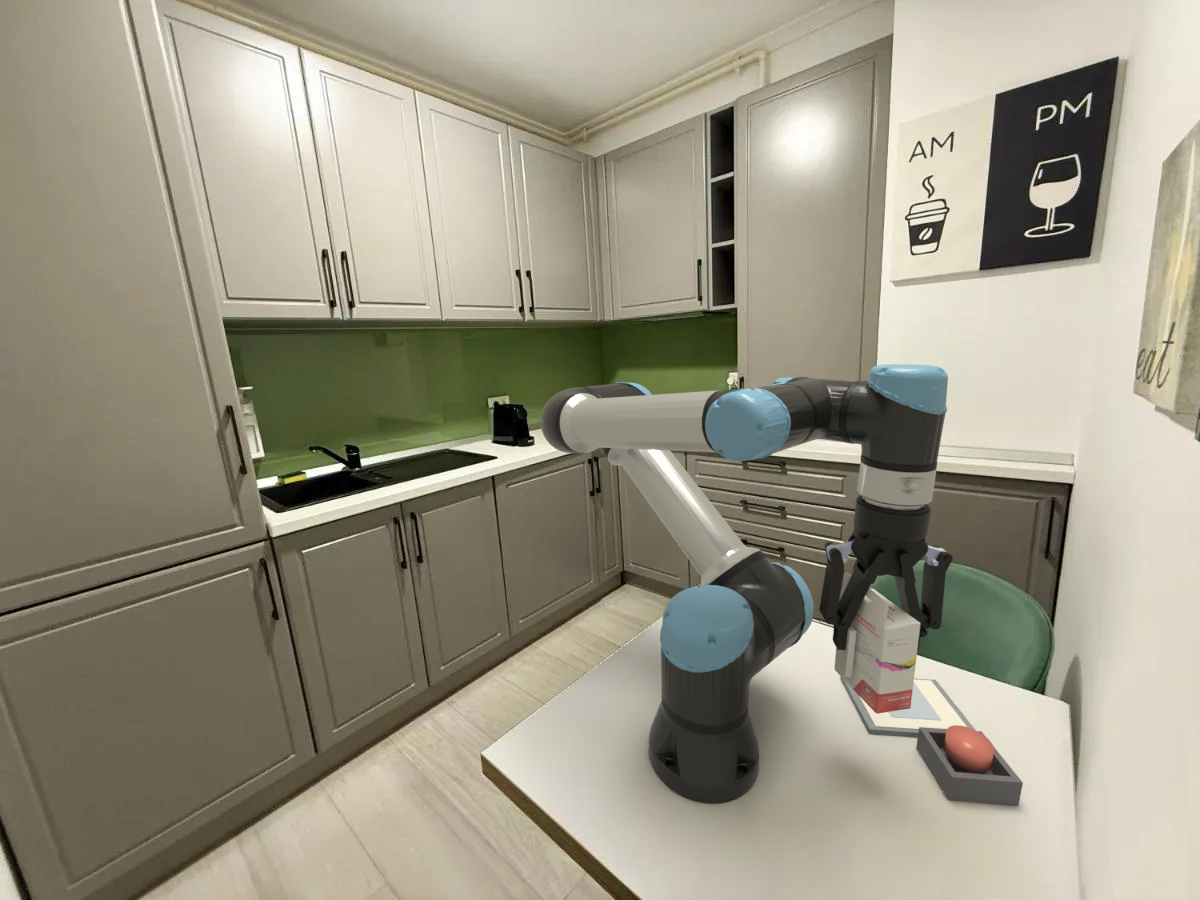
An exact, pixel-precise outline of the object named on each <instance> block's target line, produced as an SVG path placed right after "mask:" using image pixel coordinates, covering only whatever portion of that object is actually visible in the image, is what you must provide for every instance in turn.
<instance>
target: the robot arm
mask: <svg viewBox="0 0 1200 900" xmlns="http://www.w3.org/2000/svg"><path fill="white" fill-rule="evenodd" d="M948 381H949V375H948V373H947V371H946V370H945V369H943V368H942V367H940V366H937V365H929V364H899V363H898V364H895V363H894V364H878V365H875V366H873V367H872V368H871V369H870V371H869V376H868V378H867V380H855V381H853V380H842V379H827V378H814V377H813V378H812V377H808V376H797V377H796V376H794V377H781V378H777V379H775V380H774V381H773V382H772V384H771V385H766V386H756V387H748V388H747V387H745V388H730V389H724V390H723V389H722V390H704V391H691V392H690V391H689V392H677V393H675V392H674V393H661V394H652V393H651V392H650V390H648V389H647V388H646V387H645V386H644V385H641V384H639V383H636V382H625V381H615V382H612V383H609V384H600V385H589V386H580V387H579V386H577V387H569V388H566V389H562V390H561V391H558V392H557V393H555V394H554V395H553V396H551V397H550V398H549V400H547V402H546V403H545V405H544V406H543V408H542V411H541V415H540V427H541V432H542V434H543V437H544V438H545V440H546V441H547V443H548V444H550V446H552V447H553V448H554V449H556V450H557V451H559V452H563V453H567V454H588V453H592V452H594V451H596V450H599V451H601V453H602V454H603V456H604V457H605V458H606V460H607V461H608V462H609V464H610V465H613V466H617V467H618V466H620V467H622V468H623V469H624V471H625V473H626V474H627V475H628V476H629V477H630V479H631V481H632V482H633V483H634V485H635V486H636V488H637V489H638V490H639V492H640V493H641V494H642V496H643V497H644V498H645V501H646V502H647V503H648V504H649V506H650V508H651V509H652V510H653V512H654V513H655V515H657V517H658V518H659V520H660V522H662V524H663V525H664V527H665V528H666V530H667V531H668V532H669V534H670V535H671V536H672V538H673V539H674V541H675V543H677V545H678V546H679V548H680V550H681V551H682V552H683V553H684V554H685V557H686V558H687V559H688V560H689V562H690V563H691V565H692V566H693V568H694V569H695V571H696V572H697V573H698V575H699V576H700V578H701V581H700V586H698V585H694V586H692V587H689V588H685V589H683V590H681V591H680V592H678V593H676V594H674V595H673V596H672V597H671V598H670V600H669V601H668V602H667V604H666V606H665V607H664V610H663V612H662V613H663V614H662V622H661V628H660V633H659V636H660V637H659V638H660V639H659V641H660V649H661V650H660V663H661V664H660V665H661V667H660V668H661V669H660V670H661V671H660V672H661V701H660V703H659V707H658V709H657V711H656V713H655V717H654V718H653V721H652V724H651V726H650V729H649V736H648V740H649V741H648V754H649V759H650V762H651V766H652V767H653V769H654V772H655V773H656V775H657V776H658V777H659V778H660V779H661V781H662V782H664V784H665V785H666V786H668V787H669V788H670V789H671V790H673V791H674V792H675V793H678V794H680V795H681V796H684V797H686V798H687V799H691V800H693V801H698V802H703V803H713V804H714V803H716V804H717V803H723V802H730V801H731V800H732V801H733V800H735V799H737V798H739V797H741V796H742V795H744V794H746V793H747V792H748V791H749V790H751V788H752V787H753V785H754V784H755V782H756V780H757V777H758V775H759V770H760V747H759V742H758V739H757V736H756V734H755V729H754V727H753V724H752V721H751V717H750V714H749V698H750V697H749V696H750V683H751V682H752V679H753V678H754V676H756V675H757V674H759V672H761V671H762V670H764V668H766V667H767V666H768V665H769V664H771V663H772V662H773V661H774V660H776V659H777V658H778V657H779V656H781V655H782V654H783V653H784V652H785V651H786V650H787V649H789V648H792V647H793V646H794V645H796V644H798V643H799V641H800V640H801V639H802V637H803V635H804V634H805V633H806V632H807V631H808V630H809V629H810V627H811V625H812V622H813V619H814V609H815V606H814V600H813V597H812V594H811V590H810V589H809V587H808V585H807V584H806V582H805V581H804V579H803V577H802V576H801V575H800V574H799V573H798V572H797V571H795V570H794V569H793V568H792V567H790V566H789V565H784V564H783V565H782V563H780V562H775V561H774V562H771V561H770V560H769V558H767V556H766V555H765V554H764V553H763V551H762V550H761V549H760V548H756V547H751V546H747V545H745V544H744V543H743V541H742V540H741V539H740V538H739V536H738V535H737V534H736V533H735V531H734V530H733V529H732V528H731V526H730V524H728V523H727V521H726V519H724V517H723V516H722V515H721V513H720V512H719V511H718V510H717V509H716V507H715V506H714V505H713V503H712V502H711V501H710V499H709V498H708V497H707V496H706V495H705V493H704V492H703V490H702V489H701V488H700V487H699V485H698V484H697V482H695V480H694V479H693V478H692V477H691V475H690V474H689V472H687V470H686V469H685V467H684V466H683V465H682V464H681V462H680V461H679V459H678V458H677V457H676V456H675V455H674V454H673V452H693V453H695V452H697V453H715V454H716V453H717V454H719V455H721V456H722V457H724V458H725V459H726V460H730V461H734V462H746V461H753V460H754V461H755V460H761V459H764V458H767V457H769V456H772V455H774V454H776V453H779V452H782V451H784V450H788V449H791V448H793V447H797V446H800V445H803V444H806V443H809V442H813V441H816V440H822V441H823V440H825V441H830V442H839V443H845V444H852V445H860V446H861V452H860V462H859V463H860V464H859V471H858V479H857V486H856V491H857V493H858V494H859V496H857V498H856V499H855V508H854V509H855V510H854V518H853V531H852V534H851V535H850V537H849V538H848V540H847V541H845V542H842V543H837V544H834V543H833V542H831V541H828V542H826V543H825V544H824V550H825V551H824V552H825V555H826V560H827V561H826V565H825V566H826V567H825V572H824V579H823V583H822V589H821V590H822V591H821V597H820V603H819V612H820V614H821V616H822V618H823V619H824V621H825V622H826V624H828V625H833V630H832V631H833V633H832V642H833V644H834V646H835V649H836V648H837V649H838V650H839V654H838V665H839V667H840V669H841V670H842V672H843V674H844V676H845V677H851V675H852V667H853V658H854V649H855V640H856V632H857V631H856V630H855V628H854V627H853V625H852V622H853V620H854V618H855V616H856V614H857V612H858V610H859V608H860V606H861V604H862V602H863V599H864V597H865V595H866V593H867V591H868V589H870V587H871V585H873V584H874V583H875V582H876V580H877V578H878V577H882V576H892V577H894V580H895V584H896V589H897V593H898V599H899V602H900V605H901V609H902V610H903V611H904V612H906V613H907V614H909V615H910V616H911V617H913V618H914V619H916V620H917V621H918V622H920V623H921V624H920V632H919V640H918V649H917V653H919V650H920V645H921V644H920V643H921V639H922V638H925V637H926V636H927V635H928V631H927V629H932V630H939V629H940V628H941V626H942V618H943V607H944V599H945V598H944V596H945V583H946V575H947V574H946V573H947V571H948V569H949V567H950V565H951V563H952V561H953V555H952V554H950V553H949V552H948V551H947V550H945V549H944V548H942V547H941V545H938V544H937V545H936V544H935V545H932V546H931V545H928V543H927V541H926V537H927V536H928V533H929V527H930V517H931V513H932V511H931V510H932V508H931V507H930V506H929V503H932V501H933V496H934V491H935V484H936V476H937V475H936V474H937V469H938V468H937V466H938V460H939V459H938V458H939V452H940V447H941V440H942V435H943V428H944V424H945V419H946V413H947V412H948V408H947V398H948V397H947V396H948V395H947V394H948ZM850 554H853V555H854V556H855V558H856V561H855V563H854V565H853V570H852V574H851V578H850V580H849V582H848V584H847V586H846V589H845V591H844V593H843V595H842V597H841V599H840V596H841V593H842V587H843V581H844V575H845V564H846V563H847V562H848V559H849V555H850ZM922 559H923V561H924V563H923V570H922V572H923V573H922V586H921V596H920V603H919V598H918V594H917V588H916V583H917V580H916V577H915V572H914V571H915V570H914V567H915V566H916V564H918V563H919V562H920V561H921V560H922Z"/></svg>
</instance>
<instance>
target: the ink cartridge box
mask: <svg viewBox="0 0 1200 900" xmlns="http://www.w3.org/2000/svg"><path fill="white" fill-rule="evenodd" d="M851 576H852V574H850V573H849V572H844V575H843V581H842V587H841V592H840V598H839V600H840V599H841V597H842V595H843V593H844V591H845V589H846V586H847V584H848V582H849V580H850V578H851ZM920 624H921V623H920V622H918V621H917V620H916V619H914V618H913V617H911V616H910V615H909V614H907V613H906V612H904V611H903V610H902V608H900V607H899V606H898V605H896V604H895V603H893V602H892V601H891V600H890V599H888V598H886V597H885V596H884V595H882V594H881V593H880V592H878V591H877V590H876V589H875V588H869V589H868V591H867V593H866V595H865V597H864V599H863V602H862V604H861V606H860V608H859V610H858V612H857V614H856V616H855V618H854V620H853V622H852V625H853V627H854V628H855V630H856V631H857V632H856V640H855V649H854V658H853V667H852V675H851V677H845V676H844V674H843V672H842V670H841V669H840V667H839V665H838V654H839V650H838V649H837V648H836V647H835V658H834V671H835V672H836V673H837V674H838V676H840V677H842V678H843V679H844V680H845V681H846V682H847V683H848V685H849V686H850V687H851V688H852V689H853V690H854V691H855V692H856V693H857V694H858V695H859V696H860V697H861V698H862V699H863V700H864V701H865V702H866V704H867V705H868V706H869V707H870V708H871V709H872V710H873V711H874V712H875V713H877V714H879V713H885V712H891V711H897V710H904V709H910V707H911V699H912V691H913V682H914V679H915V673H916V672H915V671H916V664H917V658H918V657H917V656H918V655H917V654H918V652H917V649H918V640H919V632H920Z"/></svg>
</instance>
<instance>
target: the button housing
mask: <svg viewBox="0 0 1200 900" xmlns="http://www.w3.org/2000/svg"><path fill="white" fill-rule="evenodd" d="M946 731H947V729H940V728H925V727H919V732H918V737H917V740H916V746H915V749H916V750H917V752H918V753H919V755H920V757H921V758H922V760H923V761H924V763H925V765H926V766H927V768H928V769H929V772H930V773H931V774H932V776H933V778H934V779H935V781H936V783H937V785H939V788H940V790H941V791H942V792H943V794H944V796H945V797H946V799H947V800H948V801H954V802H955V801H957V802H966V803H968V802H969V803H979V804H980V803H982V804H990V805H1001V806H1002V805H1003V806H1015V807H1019V803H1020V799H1021V795H1022V788H1023V786H1024V785H1023V784H1024V781H1022V780H1021V779H1020V777H1019V776H1018V775H1017V773H1016V772H1015V771H1014V769H1012V768H1011V766H1010V765H1009V764H1008V762H1007V761H1006V759H1005V758H1004V757H1003V756H1002V754H1000V753H999V751H998V750H997V749H996V747H995V746H994V754H993V760H992V765H991V769H990V770H989V771H988V772H984V773H977V772H972V771H969V770H966V769H964V768H962V767H960V766H959V765H957V764H955V763H954V762H953V761H952V760H951V759H950V758H949V757H948V756H947V755H946V753H945V751H944V743H945V737H946ZM977 731H978V732H980V733H981V734H983V735H984V736H985V737H987V736H986V735H985V733H983V731H981V730H977Z"/></svg>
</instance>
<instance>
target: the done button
mask: <svg viewBox="0 0 1200 900" xmlns="http://www.w3.org/2000/svg"><path fill="white" fill-rule="evenodd" d="M974 729H975V728H974ZM974 729H971V728H969V727H965V726H960V725H954V726H950V727H948V728H947V731H946V737H945V743H944V751H945V753H946V755H947V756H948V757H949V758H950V759H951V760H952V761H953V762H954V763H955V764H957V765H959V766H960V767H962V768H964V769H966V770H969V771H972V772H977V773H984V772H988V771H989V770H990V769H991V765H992V760H993V754H994V747H995V746H994V745H993V743H992V742H991V740H990V739H989V738H988V737H987V736H986V735H985V734H984V733H983V734H984V735H985V736H986V737H985V736H984V735H983V734H981V733H980V732H978V731H979V730H976V729H975V730H974Z"/></svg>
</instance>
